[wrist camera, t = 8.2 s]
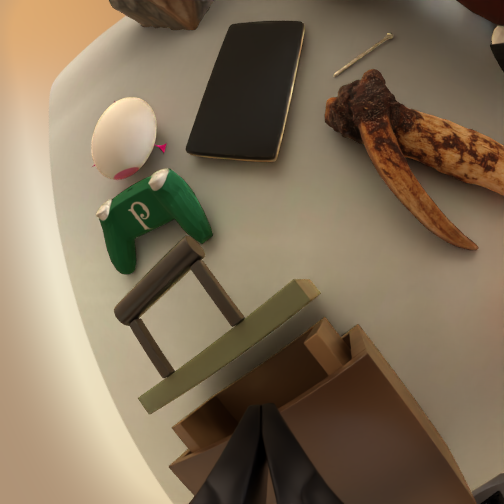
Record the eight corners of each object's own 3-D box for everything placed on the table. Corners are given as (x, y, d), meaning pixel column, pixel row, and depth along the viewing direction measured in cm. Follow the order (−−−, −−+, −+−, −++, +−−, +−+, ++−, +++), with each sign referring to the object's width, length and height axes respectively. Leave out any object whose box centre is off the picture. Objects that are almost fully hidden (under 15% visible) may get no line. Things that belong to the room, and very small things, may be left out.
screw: (389, 30, 18) (394, 34, 18) (388, 34, 19) (393, 38, 19) (331, 72, 20) (336, 76, 20) (330, 75, 21) (336, 80, 21)
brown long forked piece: (302, 193, 21) (517, 277, 15) (287, 173, 16) (550, 278, 10) (336, 88, 20) (533, 166, 14) (329, 52, 16) (561, 146, 10)
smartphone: (183, 153, 22) (229, 22, 22) (189, 158, 23) (233, 30, 24) (273, 161, 20) (304, 19, 20) (277, 167, 21) (306, 27, 21)
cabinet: (221, 416, 21) (167, 466, 13) (357, 323, 19) (367, 352, 11) (318, 517, 17) (301, 581, 10) (448, 447, 15) (478, 506, 7)
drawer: (153, 320, 22) (87, 330, 15) (263, 222, 20) (222, 194, 13) (286, 487, 18) (261, 546, 11) (415, 415, 16) (439, 470, 9)
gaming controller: (219, 216, 24) (182, 153, 21) (214, 243, 21) (169, 172, 18) (134, 254, 26) (96, 204, 23) (121, 281, 23) (77, 227, 20)
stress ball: (155, 131, 29) (99, 113, 25) (187, 102, 23) (117, 75, 19) (137, 197, 28) (77, 181, 24) (165, 183, 22) (85, 161, 18)
